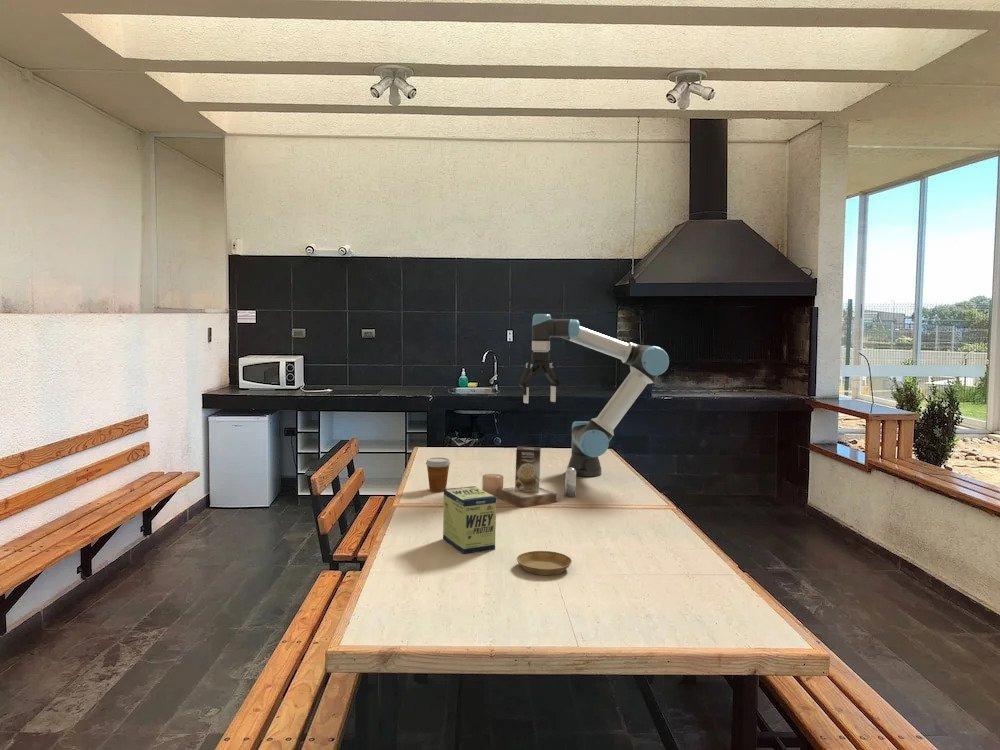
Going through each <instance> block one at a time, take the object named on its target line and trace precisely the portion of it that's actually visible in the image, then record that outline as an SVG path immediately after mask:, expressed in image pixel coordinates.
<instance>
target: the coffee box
mask: <svg viewBox="0 0 1000 750" xmlns="http://www.w3.org/2000/svg"><path fill="white" fill-rule="evenodd" d="M541 452H542V448H541V447H535V446H519V445H518V446H516V452H515V453H516V454H515V455H516V456H515V475H514V476H515V478H514V480H515V481H514V487H515V492H528V493H539V487H540V484H541V483H540V482H541V481H540V480H541V479H540V477H541Z"/></svg>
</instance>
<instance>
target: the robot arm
mask: <svg viewBox="0 0 1000 750" xmlns="http://www.w3.org/2000/svg"><path fill="white" fill-rule="evenodd" d="M580 324H581V323H580V321H579V319H574V318H559V319H558V318H556V319H555V318H552V316H551V314H550V313H549V314H548V313H547V314H546V313H534V314H533V316H532V323H531V351H532V352H531V363H529V362H526V363H524V369H523V371H522V373H521V376H520V378H519V379H518V382H517V385H518V386H520V387H521V395H522V396H523V401H522V402H523V403H524V404H529V399H530V398H529V396H530V392H529V391H530V388H529V387H528V386H529V385H530V383H531V382H532V381H533V379H534V378H535V376H537V375H544V376H545V377H546V378H547V380H548V381H549V382H550V384H551V385H550V396H549V397H550V398H549V399H550V402H551V403H552V402H553V403H556V400H557V395H556V394H558V387H559V386H560V385H562V381H561V379H560V375H559V373H558V370H557V368H556V367H557V366H556V362H550V360H551V359H550V356H551V353H550V352H549V351H551V338H561V339H564V340H567V341H569V342H573V343H575V344H577V345H580V346H583V347H585V348H588V349H592V350H594V351H597V352H599V353H602V354H605V355H608V356H610V357H613V358H616V359H618V360H621V362H622V364H626V365H628V366H629V369H630V372H629V373H628V374H627V376H626V377H625V379H624V380H623V381H622V383H621V384H620V386H618V388H617V390H616V391H615V393H614V394H613V395H612V396H611V397H610V399H609V400H608V402H607V403H606V404H605V406H604V407H603V409H602V410H601V411H600V412H599V414H598V416H596V417H594V418H591V419H590V420H588V421H573V422H572V424H571V452H570V453H571V454H570V459H569V461H568V465H567V466H566V470H567V469H568V468H570V467H572V468H574V469H575V470H576V477H598V476H600V475H602V467H601V462H600V459H599V457H601V456H603V455H605V453H607V452H606V451H608V449H609V445H610V441H611V440H612V438H613V437H614V436H615V434H614V430H615V428H616V427H617V426H618V425H619V423H620V422H621V420H622V419H623V418H624V417H625V415H626V414H627V412H628V411H629V409H630V408H631V407H632V405H633V404H634V403H635V402H636V400H637V398H638V397H639V396H640V395H641V393H642V392H643V391H644V390H645V388H646V387H647V385H650V384H653V383H654V382H655V381H656V379H657V378H658V376H661V375H663V374H664V373H666V371H667V370H668V369H669V365H670V357H669V355H668V353H667V352H666V351H665V349H663V348H662V347H660V346H656V345H652V346H651V345H646V344H643V345H642V344H637V343H634V342H631V341H630V342H624V341H622V340H619V339H617V338H614V337H611V336H608V335H605V334H602V333H600V332H597V331H594V330H592V329H589V328H586V327H584V326H581V325H580Z"/></svg>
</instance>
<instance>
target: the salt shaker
mask: <svg viewBox="0 0 1000 750" xmlns="http://www.w3.org/2000/svg"><path fill="white" fill-rule="evenodd" d="M576 485H577V476H576V470H575V469H574V468H572V467H570V468H568V469H567V468H566V469H565V482H564V486H565V487H564V488H565V489H564V496H565V497H566V498H575V497H576V489H577V487H576Z"/></svg>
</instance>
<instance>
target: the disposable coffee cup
mask: <svg viewBox="0 0 1000 750" xmlns="http://www.w3.org/2000/svg"><path fill="white" fill-rule="evenodd" d="M425 464H426V465H425V466H426V467H427V468H426V469H427V470H426V471H427V475H428V477H427V478H428V487H429V491H430V492H434V493H442V492H444V489H447V483H448V476H449V470H450V466H451V465H450V464H451V461H450V459H449V458H448V457H447V458H446V457H430V458H427V459H426V462H425Z"/></svg>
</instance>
